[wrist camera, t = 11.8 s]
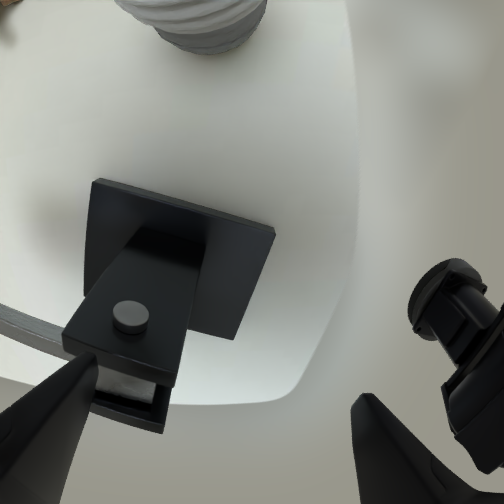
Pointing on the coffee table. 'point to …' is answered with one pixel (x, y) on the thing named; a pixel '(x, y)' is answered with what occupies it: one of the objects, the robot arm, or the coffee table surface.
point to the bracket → (158, 288)
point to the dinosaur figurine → (7, 2)
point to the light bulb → (199, 21)
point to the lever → (50, 342)
